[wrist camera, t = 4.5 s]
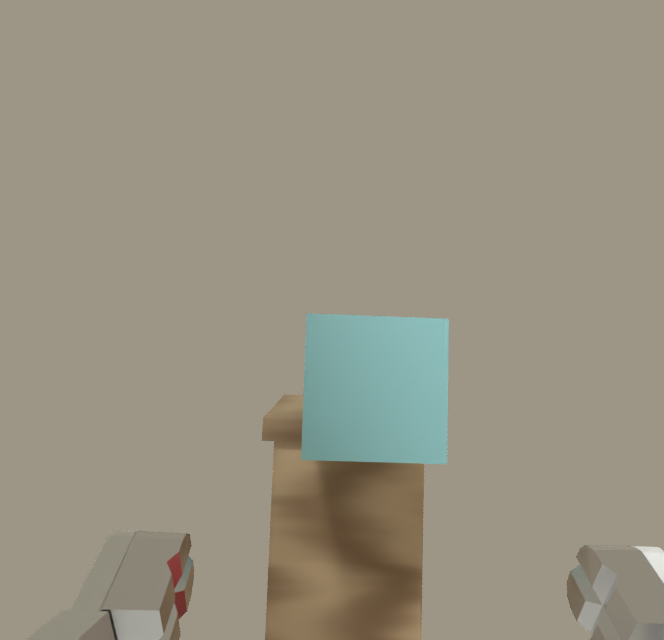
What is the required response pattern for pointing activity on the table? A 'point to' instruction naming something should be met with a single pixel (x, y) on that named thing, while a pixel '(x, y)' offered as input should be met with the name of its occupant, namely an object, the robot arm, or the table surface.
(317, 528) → the pedestal
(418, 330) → the rod
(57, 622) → the robot arm
